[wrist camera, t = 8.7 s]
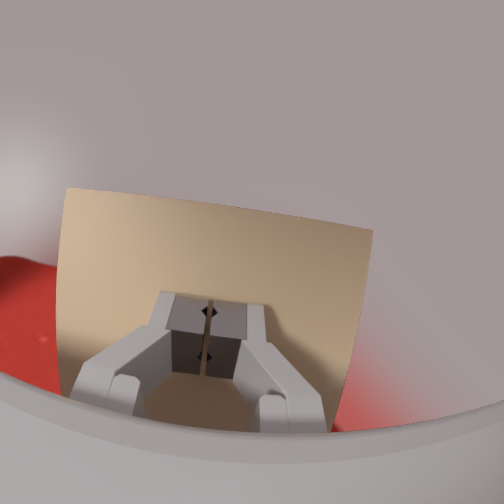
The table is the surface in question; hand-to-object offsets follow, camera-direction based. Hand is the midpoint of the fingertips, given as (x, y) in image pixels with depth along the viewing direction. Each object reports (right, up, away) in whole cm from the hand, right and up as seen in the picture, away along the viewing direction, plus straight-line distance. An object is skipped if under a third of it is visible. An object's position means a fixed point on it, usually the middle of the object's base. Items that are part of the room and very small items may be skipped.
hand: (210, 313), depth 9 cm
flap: (0, -1, 0) cm, 1 cm away
